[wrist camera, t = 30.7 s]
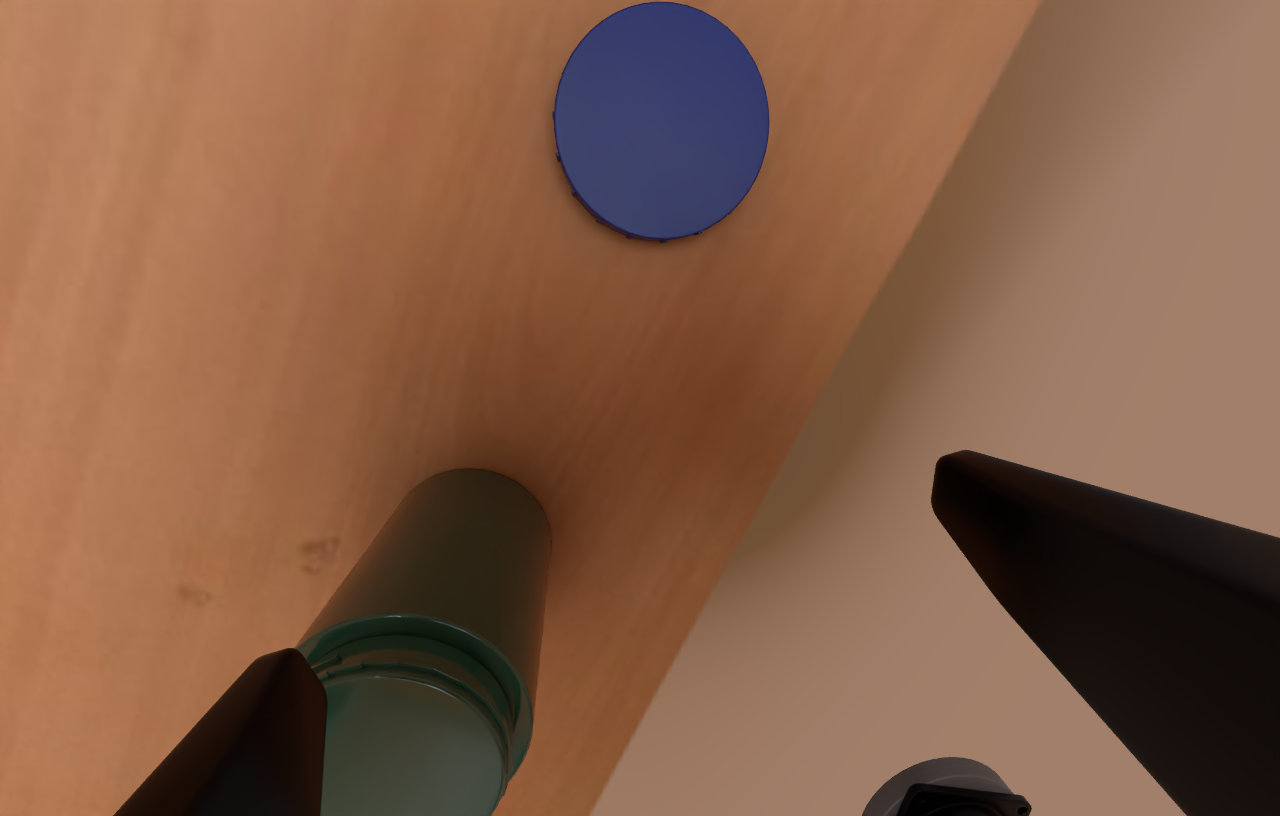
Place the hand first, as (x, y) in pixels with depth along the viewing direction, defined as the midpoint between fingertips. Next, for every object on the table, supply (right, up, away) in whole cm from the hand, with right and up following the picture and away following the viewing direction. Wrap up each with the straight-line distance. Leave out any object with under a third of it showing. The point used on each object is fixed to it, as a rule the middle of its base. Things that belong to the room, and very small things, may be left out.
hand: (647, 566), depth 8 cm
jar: (-7, -3, +15) cm, 17 cm away
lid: (+1, +11, +11) cm, 16 cm away
